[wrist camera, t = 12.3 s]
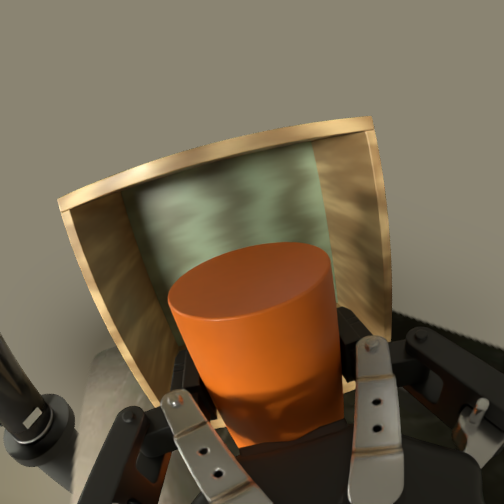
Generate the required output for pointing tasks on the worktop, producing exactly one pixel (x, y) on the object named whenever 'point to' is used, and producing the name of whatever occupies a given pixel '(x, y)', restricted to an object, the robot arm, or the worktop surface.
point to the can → (264, 339)
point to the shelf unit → (231, 229)
